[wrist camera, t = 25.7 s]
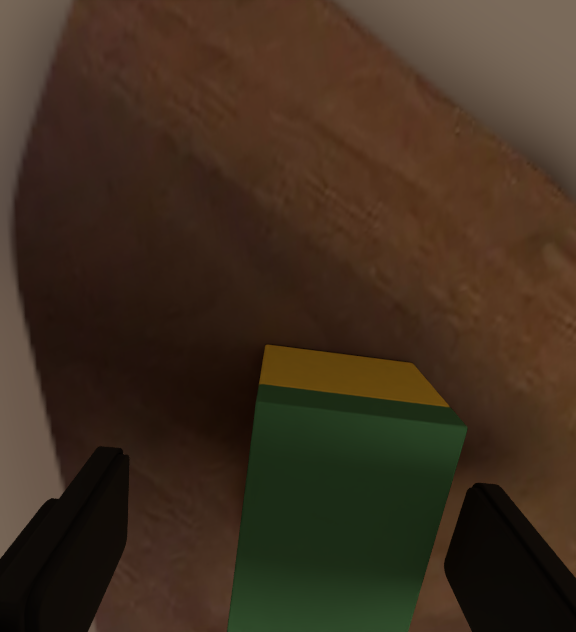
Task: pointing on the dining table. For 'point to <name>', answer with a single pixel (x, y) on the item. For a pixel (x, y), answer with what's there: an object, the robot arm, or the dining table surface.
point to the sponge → (340, 493)
